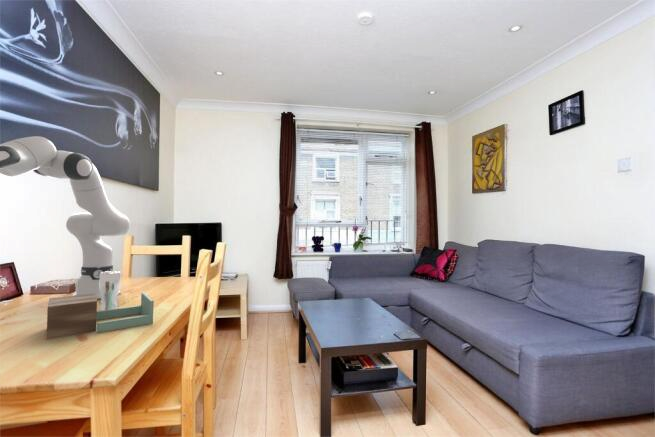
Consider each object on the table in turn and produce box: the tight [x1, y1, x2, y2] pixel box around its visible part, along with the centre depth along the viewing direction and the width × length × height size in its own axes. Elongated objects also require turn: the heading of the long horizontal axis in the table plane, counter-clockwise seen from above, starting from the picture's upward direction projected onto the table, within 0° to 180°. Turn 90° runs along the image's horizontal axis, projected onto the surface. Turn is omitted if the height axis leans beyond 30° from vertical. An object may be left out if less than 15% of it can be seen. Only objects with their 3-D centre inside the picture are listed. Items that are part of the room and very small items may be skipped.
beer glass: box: [99, 270, 121, 311], centre depth 124 cm, size 7×7×15 cm
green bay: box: [96, 291, 154, 334], centre depth 111 cm, size 16×16×8 cm
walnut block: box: [46, 294, 98, 341], centre depth 101 cm, size 12×12×10 cm
